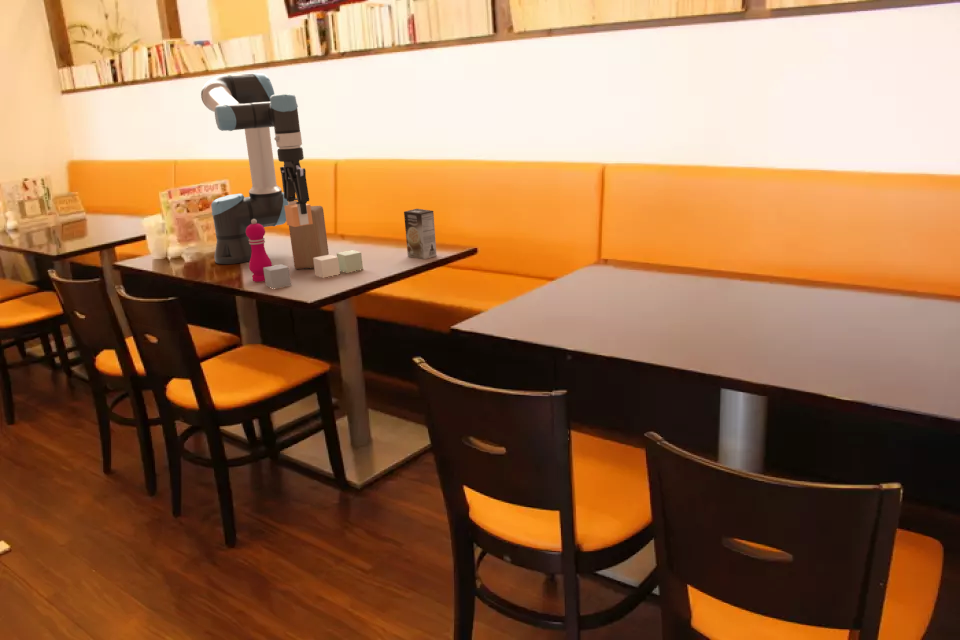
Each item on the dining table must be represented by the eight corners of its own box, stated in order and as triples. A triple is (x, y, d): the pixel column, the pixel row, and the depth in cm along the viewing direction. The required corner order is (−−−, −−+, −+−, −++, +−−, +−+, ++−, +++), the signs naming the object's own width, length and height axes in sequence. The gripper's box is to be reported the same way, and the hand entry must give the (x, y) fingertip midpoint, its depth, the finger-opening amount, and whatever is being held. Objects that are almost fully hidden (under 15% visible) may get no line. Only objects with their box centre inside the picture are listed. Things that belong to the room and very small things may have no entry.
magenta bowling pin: (278, 276, 254) (269, 216, 247) (266, 282, 247) (257, 220, 241) (258, 276, 255) (249, 216, 249) (246, 282, 249) (237, 221, 243)
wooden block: (330, 261, 270) (323, 205, 264) (322, 268, 261) (314, 210, 255) (303, 262, 271) (295, 206, 265) (293, 269, 262) (285, 211, 256)
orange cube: (286, 224, 240) (284, 205, 238) (304, 221, 243) (302, 203, 241) (294, 227, 235) (292, 207, 233) (312, 223, 238) (310, 204, 237)
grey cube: (265, 286, 243) (263, 267, 241) (283, 282, 246) (281, 264, 244) (273, 289, 238) (270, 270, 236) (291, 285, 242) (288, 267, 240)
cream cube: (315, 275, 252) (313, 257, 250) (331, 272, 256) (329, 254, 254) (323, 278, 248) (321, 260, 246) (340, 275, 251) (338, 257, 249)
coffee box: (406, 256, 271) (402, 211, 266) (420, 253, 275) (416, 208, 270) (424, 259, 265) (420, 213, 260) (437, 255, 269) (434, 210, 264)
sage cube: (338, 270, 257) (336, 253, 255) (354, 267, 260) (352, 249, 259) (347, 273, 252) (344, 255, 251) (363, 270, 256) (361, 252, 254)
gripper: (265, 147, 237) (276, 221, 244) (290, 149, 222) (301, 228, 229) (288, 145, 241) (298, 218, 248) (314, 147, 227) (324, 224, 234)
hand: (299, 223), depth 239 cm, fingers closed on orange cube, 6 cm apart
